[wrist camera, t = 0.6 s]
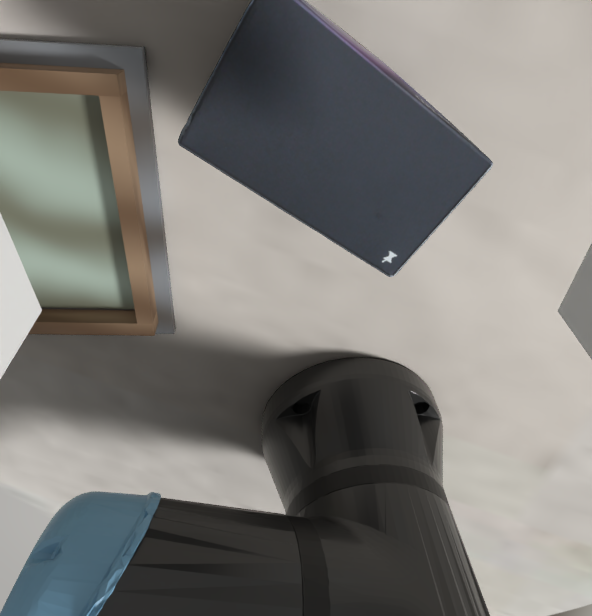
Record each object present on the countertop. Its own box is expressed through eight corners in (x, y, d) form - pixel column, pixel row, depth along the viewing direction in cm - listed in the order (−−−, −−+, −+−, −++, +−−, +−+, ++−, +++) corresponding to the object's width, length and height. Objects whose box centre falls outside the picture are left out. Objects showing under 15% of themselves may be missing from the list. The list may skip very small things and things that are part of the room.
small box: (427, 103, 26) (507, 163, 17) (354, 196, 29) (392, 287, 20) (267, -30, 22) (269, -37, 14) (202, 93, 25) (170, 151, 17)
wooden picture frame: (175, 328, 34) (170, 347, 32) (-88, 325, 32) (-107, 344, 31) (144, 47, 24) (135, 52, 22) (-242, 23, 22) (-284, 27, 21)
